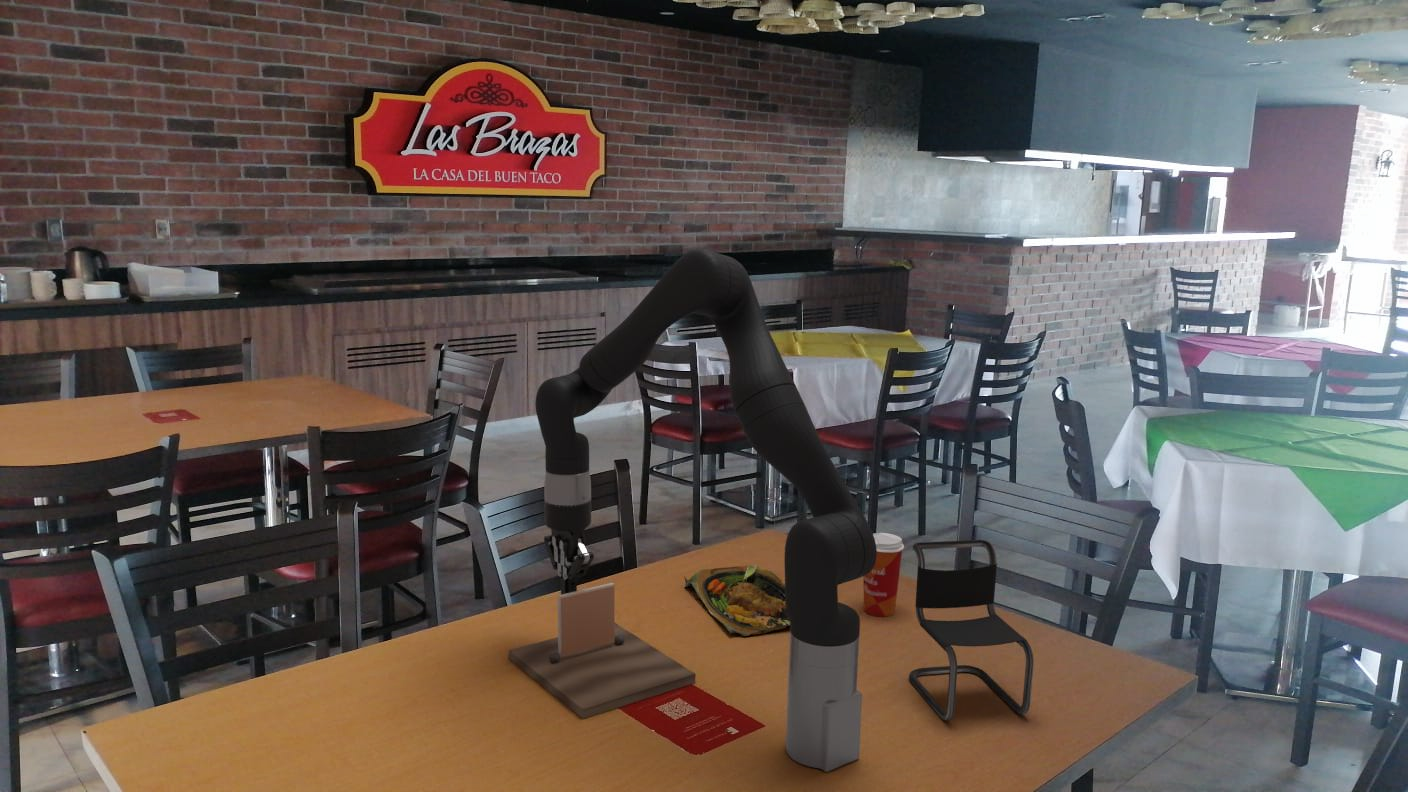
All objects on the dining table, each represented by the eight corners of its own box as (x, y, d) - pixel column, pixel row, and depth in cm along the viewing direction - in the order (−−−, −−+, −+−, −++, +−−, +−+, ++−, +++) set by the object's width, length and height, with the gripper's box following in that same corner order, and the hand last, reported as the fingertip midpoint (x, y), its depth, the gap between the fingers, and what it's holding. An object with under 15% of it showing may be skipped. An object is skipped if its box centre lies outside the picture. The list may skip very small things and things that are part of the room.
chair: (977, 668, 164) (986, 538, 160) (1030, 721, 147) (1042, 577, 143) (901, 673, 162) (909, 542, 158) (947, 728, 145) (956, 582, 141)
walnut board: (695, 682, 157) (695, 665, 157) (582, 719, 145) (582, 700, 145) (614, 630, 176) (614, 614, 176) (508, 658, 164) (508, 641, 164)
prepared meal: (827, 609, 179) (732, 619, 173) (826, 628, 179) (732, 639, 173) (764, 562, 205) (680, 570, 199) (763, 579, 205) (679, 587, 199)
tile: (612, 640, 167) (615, 642, 166) (558, 655, 161) (561, 657, 160) (612, 582, 165) (615, 584, 164) (557, 595, 159) (560, 597, 158)
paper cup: (850, 606, 189) (853, 534, 186) (884, 600, 192) (888, 529, 189) (874, 622, 182) (878, 547, 179) (909, 615, 185) (913, 542, 182)
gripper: (609, 503, 161) (609, 606, 164) (568, 484, 171) (569, 582, 174) (567, 510, 157) (568, 616, 160) (528, 491, 167) (529, 591, 170)
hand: (568, 598), depth 167 cm, fingers closed
